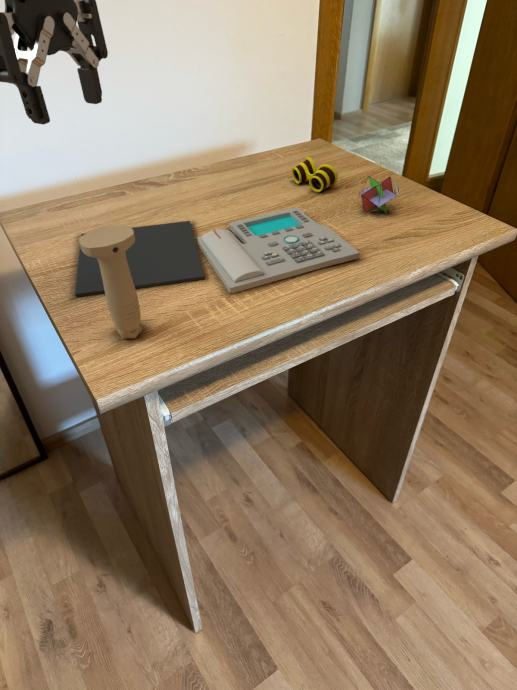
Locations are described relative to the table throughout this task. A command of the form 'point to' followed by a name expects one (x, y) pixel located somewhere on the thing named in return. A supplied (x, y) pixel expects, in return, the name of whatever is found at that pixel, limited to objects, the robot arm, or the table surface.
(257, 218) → the office telephone
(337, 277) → the table surface
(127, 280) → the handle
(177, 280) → the mat
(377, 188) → the geometric puzzle
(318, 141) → the table surface
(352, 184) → the table surface
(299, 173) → the opera glasses
